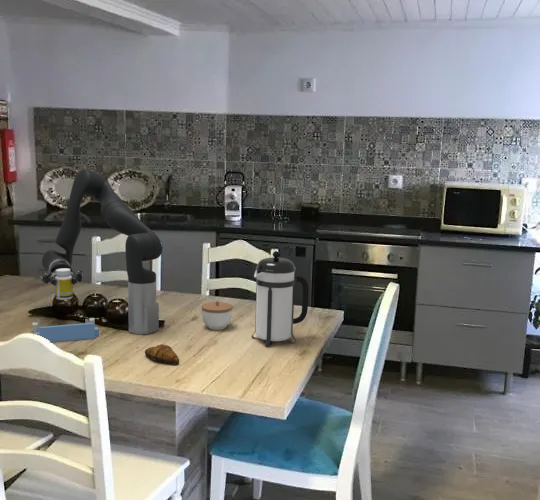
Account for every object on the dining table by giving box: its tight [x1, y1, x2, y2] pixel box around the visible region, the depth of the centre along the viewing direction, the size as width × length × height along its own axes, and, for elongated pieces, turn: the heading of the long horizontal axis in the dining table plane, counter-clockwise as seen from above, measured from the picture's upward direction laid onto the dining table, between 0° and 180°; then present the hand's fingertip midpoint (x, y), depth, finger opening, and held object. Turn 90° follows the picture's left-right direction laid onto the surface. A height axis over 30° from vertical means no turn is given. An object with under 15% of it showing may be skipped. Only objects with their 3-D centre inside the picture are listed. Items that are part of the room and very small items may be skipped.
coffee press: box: [251, 250, 309, 348], centre depth 213 cm, size 17×16×30 cm
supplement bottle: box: [54, 268, 74, 301], centre depth 214 cm, size 6×5×10 cm
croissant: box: [144, 343, 180, 365], centre depth 194 cm, size 14×7×5 cm, turn 53°
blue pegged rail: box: [31, 317, 100, 343], centre depth 219 cm, size 24×20×5 cm
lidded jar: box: [201, 300, 234, 331], centre depth 227 cm, size 11×11×9 cm
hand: (64, 282), depth 212 cm, fingers closed on supplement bottle, 5 cm apart
